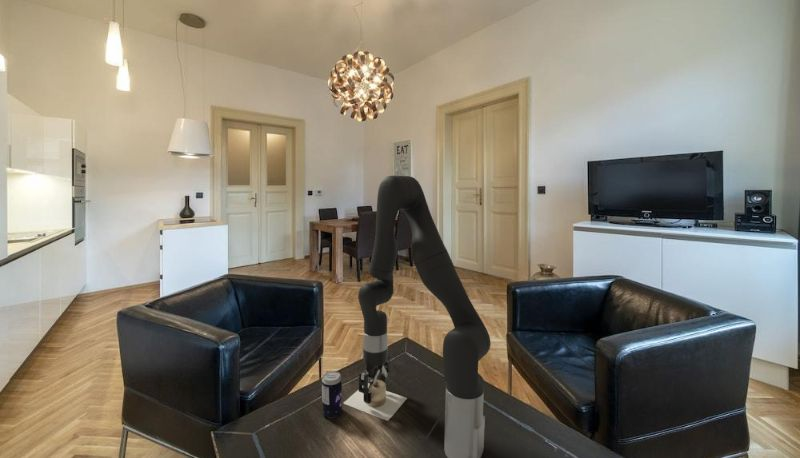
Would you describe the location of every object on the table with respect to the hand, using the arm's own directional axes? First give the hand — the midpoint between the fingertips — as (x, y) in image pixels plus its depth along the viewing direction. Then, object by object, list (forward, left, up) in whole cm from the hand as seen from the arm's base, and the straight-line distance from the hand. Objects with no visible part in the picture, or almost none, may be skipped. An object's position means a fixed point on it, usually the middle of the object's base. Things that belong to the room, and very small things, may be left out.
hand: (375, 394), depth 104 cm
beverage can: (+8, +11, -3) cm, 14 cm away
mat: (0, 0, -2) cm, 2 cm away
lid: (0, 0, -2) cm, 2 cm away
